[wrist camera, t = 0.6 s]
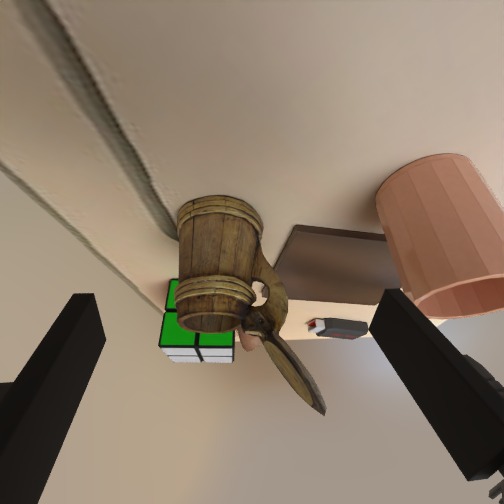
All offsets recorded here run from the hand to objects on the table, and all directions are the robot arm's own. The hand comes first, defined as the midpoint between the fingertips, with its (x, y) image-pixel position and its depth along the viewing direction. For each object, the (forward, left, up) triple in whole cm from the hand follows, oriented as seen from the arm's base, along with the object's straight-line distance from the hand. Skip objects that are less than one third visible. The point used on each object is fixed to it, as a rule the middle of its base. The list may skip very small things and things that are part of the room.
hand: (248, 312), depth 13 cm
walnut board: (+19, +17, -14) cm, 29 cm away
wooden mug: (+11, +1, -14) cm, 18 cm away
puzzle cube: (+30, -2, -14) cm, 34 cm away
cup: (+3, +17, -14) cm, 22 cm away
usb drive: (+41, +26, -14) cm, 51 cm away
